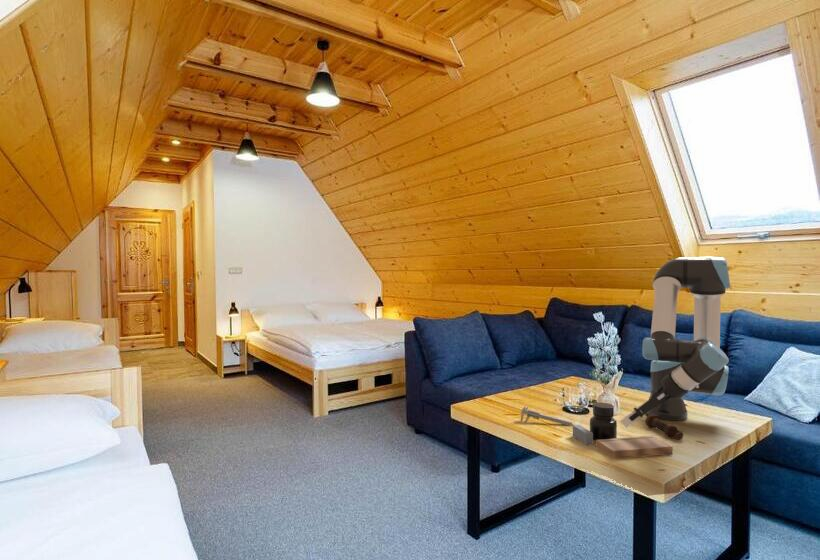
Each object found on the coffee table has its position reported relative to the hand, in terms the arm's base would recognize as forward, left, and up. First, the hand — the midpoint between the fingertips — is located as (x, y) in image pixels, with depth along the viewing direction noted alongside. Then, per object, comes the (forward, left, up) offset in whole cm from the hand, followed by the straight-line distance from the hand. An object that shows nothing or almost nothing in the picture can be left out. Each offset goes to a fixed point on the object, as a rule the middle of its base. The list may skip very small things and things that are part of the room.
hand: (629, 419), depth 163 cm
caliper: (+17, -26, -9) cm, 33 cm away
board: (+2, +5, -9) cm, 10 cm away
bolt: (-19, -7, -9) cm, 23 cm away
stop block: (+14, -7, -9) cm, 18 cm away
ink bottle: (+6, -7, -9) cm, 13 cm away
